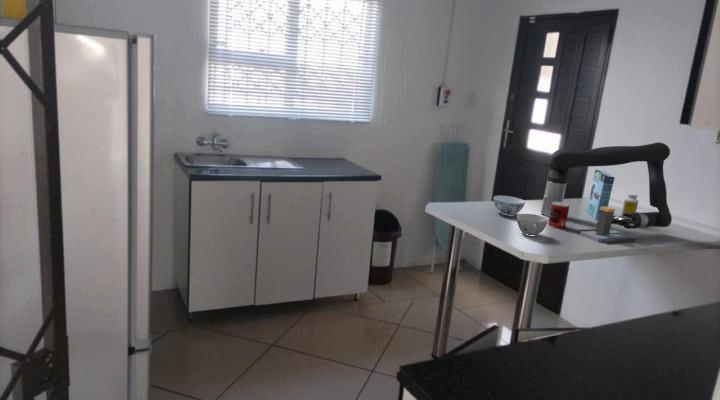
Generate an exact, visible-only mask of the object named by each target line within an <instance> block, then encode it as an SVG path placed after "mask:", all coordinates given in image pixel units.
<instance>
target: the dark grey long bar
mask: <svg viewBox="0 0 720 400" xmlns="http://www.w3.org/2000/svg"><path fill="white" fill-rule="evenodd" d="M636 240H637V239H636V238H634V237H633V238H625V239H607V240H604V242H603V243H604V244H606V245H611V244H626V243H636Z"/></svg>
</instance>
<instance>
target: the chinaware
mask: <svg viewBox="0 0 720 400" xmlns="http://www.w3.org/2000/svg"><path fill="white" fill-rule="evenodd" d="M493 203H494V206H495V208H496V209H497V210H498V211H499V213H500V212H501V213H503V214H507V215H514V216H515V214H519V212H520V211H522V209H523V208H524V207H525V204H526V201H525V200H524V199H522V198H519V197H514V196H509V195H495V196H493Z"/></svg>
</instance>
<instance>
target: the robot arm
mask: <svg viewBox="0 0 720 400" xmlns="http://www.w3.org/2000/svg"><path fill="white" fill-rule="evenodd" d="M670 155H671V149H670V147H669V146H668V145H667V144H665V143H663V142H652V143H648V144H642V145H634V146H631V145H618V146H617V145H615V146H614V145H613V146H610V145H609V146H601V147H597V148H595V147H594V148H591V149H588V150H583V151H582V150H581V151H567V150H565V149H557V150H555V151H554V152H553V153H552V154H551V157H550V160H549V161H550V162H549V166H548V173H547V179H546V183H545V184H546V186H545V190H544V194H543V199H542V204H541V210H540V215H542V214H544V215H543V216H546V217H550V211H551V206H552V202H563V203H564V197H565V193H566V189H567V183H568V177H569V176H568V175H569V169H572V168H573V169H574V168H580V167H609V166H610V167H611V166H620V165H625V164H630V163H635V162H646V164H647V170H648V184H649V185H648V186H649V187H648V188H649V189H648V190H649V192H648V193H649V205H650V206H651V207H652V208H656V209H657V210H658V211H648V212H644V211H643V212H640V211H636V212H627V213H624V214H623V215H621V214H620V215H617V216H615V214H614V215H613V219H612V224H611V225H618V226H620V227H623V228H625V229H628V230H632V229H633V230H634V229H642V228H643V229H644V228H651V227H655V228H667V227H669V226H670V225H671V224H672V220H673V219H672V213H671V210H670V208H669V204H668V201H667V199H668V198H667V185H666V181H665V176H664V162H665V161H666V160H667V159H668V157H669V156H670Z"/></svg>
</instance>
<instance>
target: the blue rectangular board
mask: <svg viewBox="0 0 720 400" xmlns="http://www.w3.org/2000/svg"><path fill="white" fill-rule="evenodd" d="M579 236H582V237H584V236H585V237H584V238H587V239H589V238H590V239H589V240H592V241H593V242H594V241H595V242H596V241H597V243H602V242H603V243H604V240H607V239H625V238H634V236H633V235H630V234H627V233H625V232H621V231H619V230H617V229H610V233H609V235H602V234H599V233H597V232H595V231H580V233H579Z"/></svg>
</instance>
